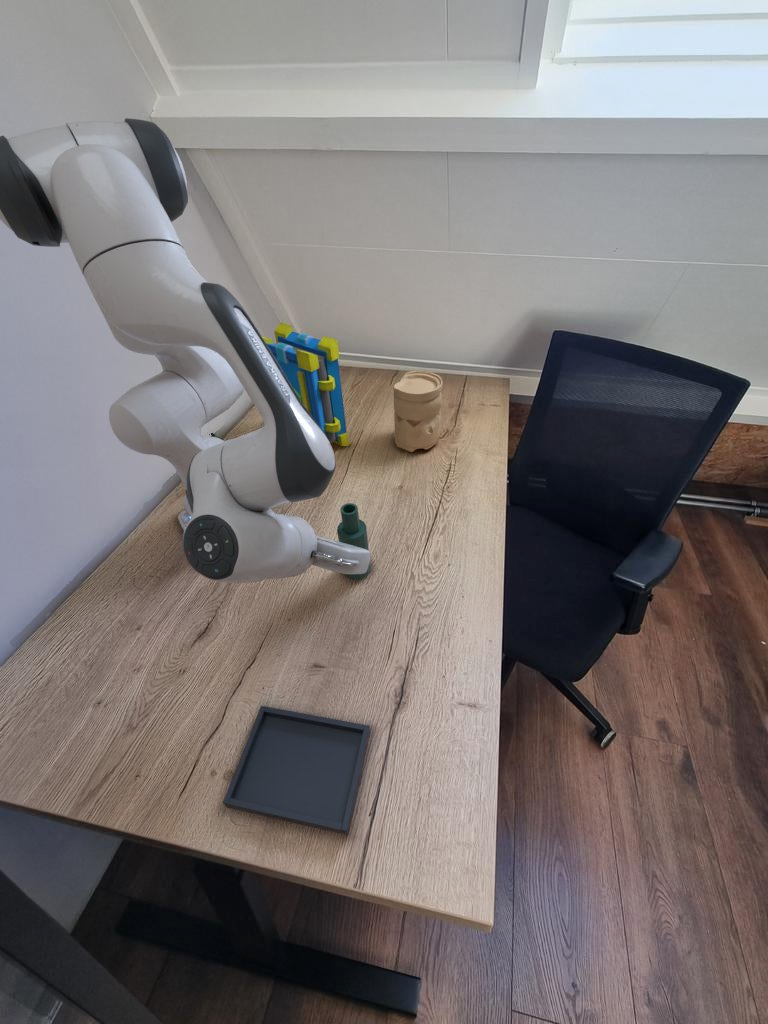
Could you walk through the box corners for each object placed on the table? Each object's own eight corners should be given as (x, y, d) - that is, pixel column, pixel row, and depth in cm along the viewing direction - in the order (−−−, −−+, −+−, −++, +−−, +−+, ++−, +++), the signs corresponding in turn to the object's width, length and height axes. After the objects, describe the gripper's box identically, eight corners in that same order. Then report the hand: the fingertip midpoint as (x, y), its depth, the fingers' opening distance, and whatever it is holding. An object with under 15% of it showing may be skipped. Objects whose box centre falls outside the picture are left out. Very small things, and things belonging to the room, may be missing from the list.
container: (390, 451, 124) (388, 391, 112) (400, 427, 133) (398, 369, 120) (436, 456, 121) (438, 395, 109) (443, 431, 130) (445, 372, 118)
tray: (226, 807, 63) (222, 803, 62) (263, 711, 73) (260, 705, 71) (348, 835, 60) (346, 831, 59) (370, 731, 70) (369, 725, 68)
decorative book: (303, 419, 139) (284, 319, 118) (359, 444, 127) (349, 338, 107) (267, 440, 131) (240, 337, 110) (323, 469, 119) (305, 360, 99)
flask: (338, 569, 94) (327, 509, 82) (358, 555, 97) (350, 494, 85) (356, 584, 91) (347, 523, 79) (375, 568, 94) (370, 508, 82)
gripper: (356, 543, 60) (387, 543, 73) (231, 507, 67) (280, 513, 80) (344, 588, 60) (377, 580, 73) (220, 549, 67) (271, 548, 80)
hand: (326, 545), depth 77 cm, fingers open, 8 cm apart
